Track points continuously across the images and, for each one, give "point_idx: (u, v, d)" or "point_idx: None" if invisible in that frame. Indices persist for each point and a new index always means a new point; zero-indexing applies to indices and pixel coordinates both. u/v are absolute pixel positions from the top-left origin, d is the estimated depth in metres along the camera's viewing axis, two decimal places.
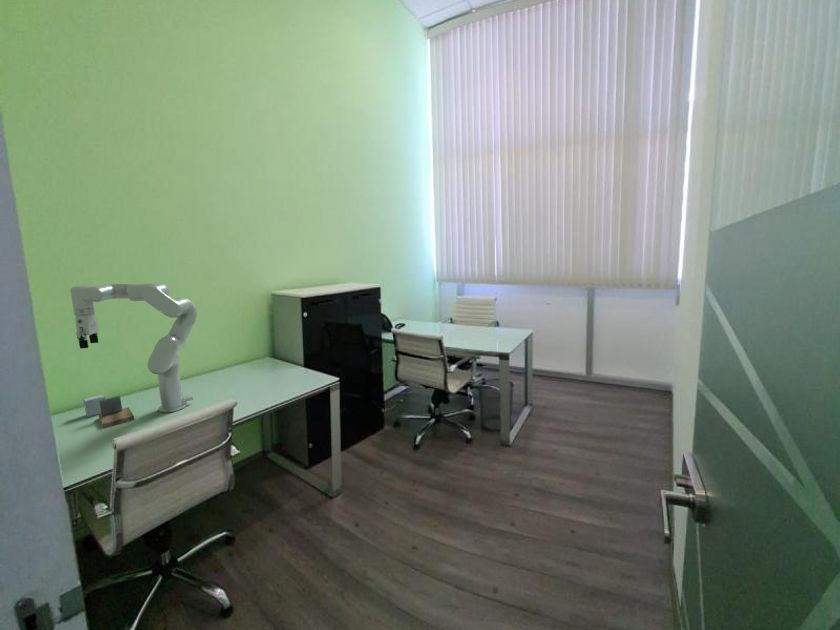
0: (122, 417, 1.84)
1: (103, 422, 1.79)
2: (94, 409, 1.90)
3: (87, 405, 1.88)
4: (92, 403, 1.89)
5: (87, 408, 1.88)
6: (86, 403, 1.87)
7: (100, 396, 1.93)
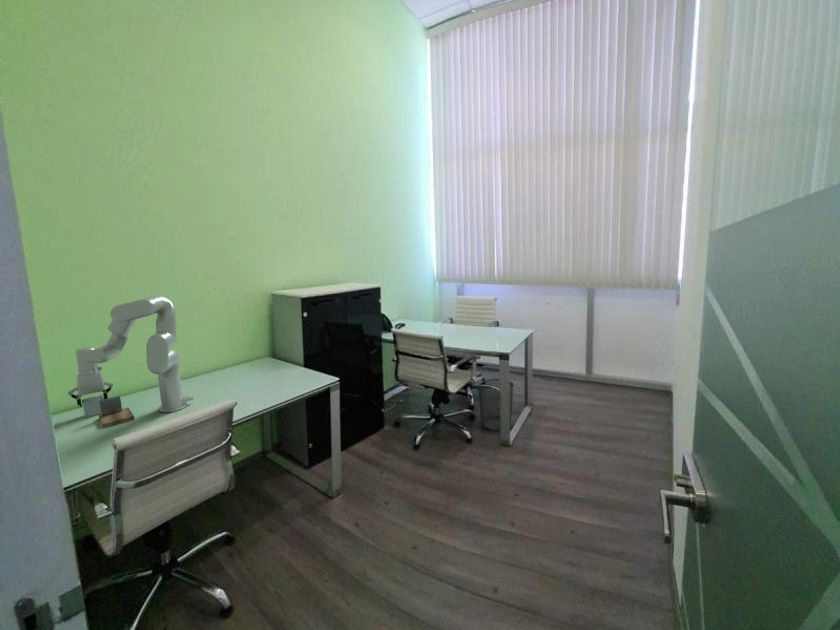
0: (122, 417, 1.84)
1: (103, 422, 1.79)
2: (93, 409, 1.90)
3: (85, 405, 1.87)
4: (90, 404, 1.89)
5: (85, 408, 1.87)
6: (84, 403, 1.87)
7: (98, 396, 1.92)
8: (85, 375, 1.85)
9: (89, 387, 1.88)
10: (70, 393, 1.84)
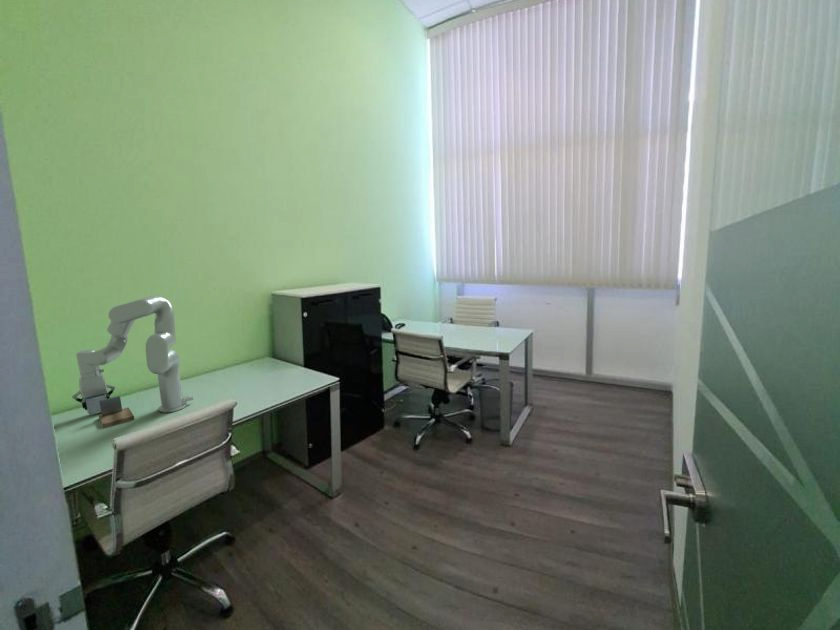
0: (122, 417, 1.84)
1: (103, 422, 1.79)
2: (95, 407, 1.90)
3: (88, 403, 1.87)
4: (93, 401, 1.89)
5: (88, 406, 1.88)
6: (87, 401, 1.87)
7: (101, 394, 1.93)
8: (87, 378, 1.85)
9: (92, 389, 1.88)
10: (74, 397, 1.85)
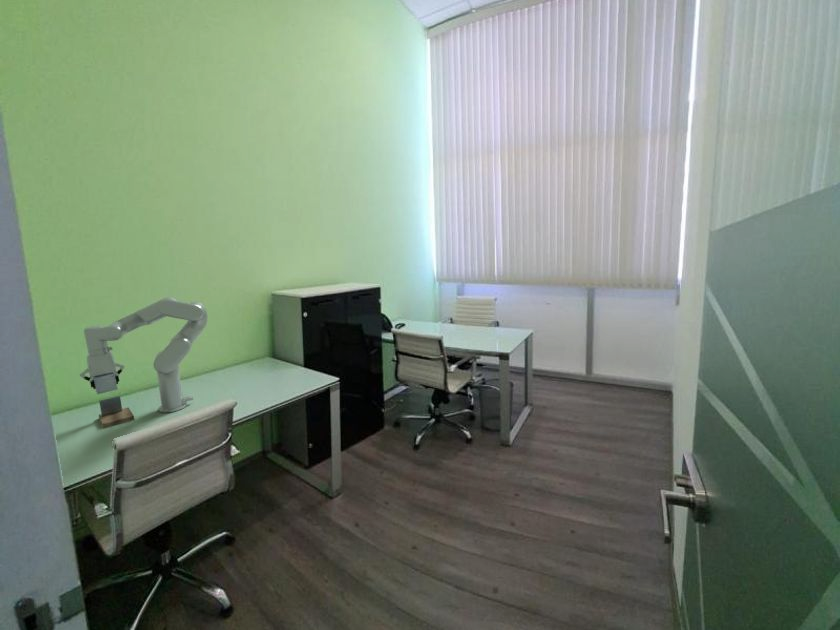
0: (122, 417, 1.84)
1: (103, 422, 1.79)
2: (104, 386, 1.82)
3: (96, 382, 1.79)
4: (101, 380, 1.81)
5: (96, 385, 1.80)
6: (95, 380, 1.79)
7: (110, 373, 1.84)
8: (95, 355, 1.77)
9: (100, 367, 1.80)
10: (82, 375, 1.77)
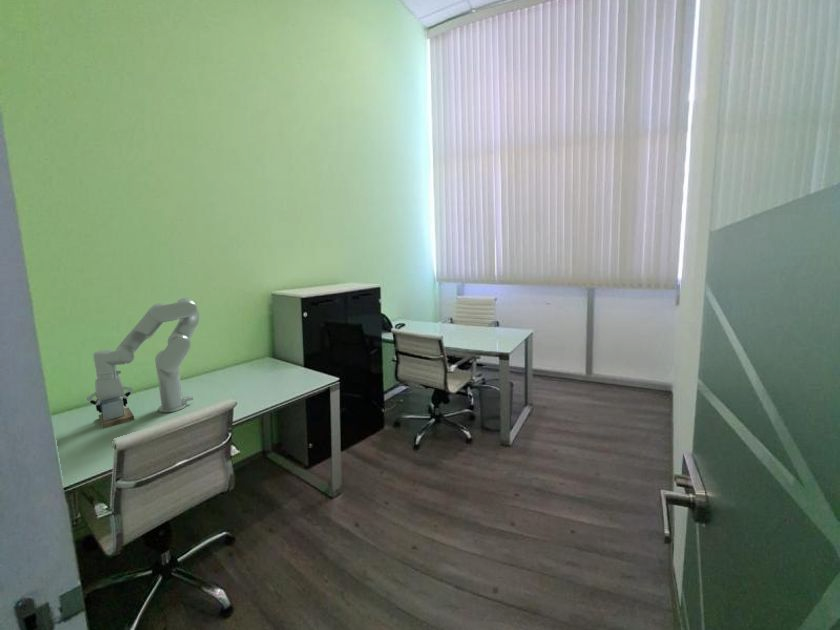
0: (122, 417, 1.84)
1: (103, 422, 1.79)
2: (111, 412, 1.82)
3: (104, 408, 1.79)
4: (109, 406, 1.81)
5: (104, 411, 1.80)
6: (103, 406, 1.79)
7: (118, 399, 1.85)
8: (104, 379, 1.77)
9: (109, 391, 1.80)
10: (89, 399, 1.76)
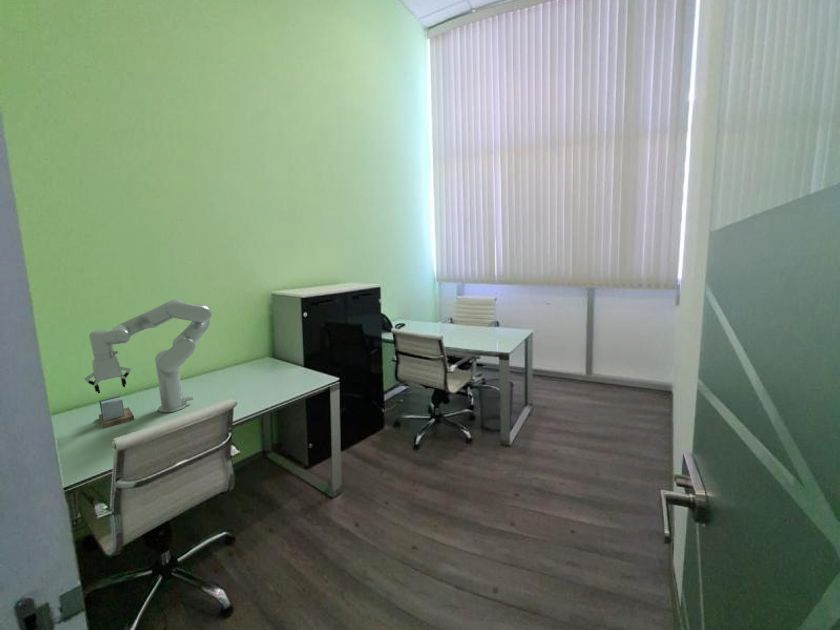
0: (122, 417, 1.84)
1: (103, 422, 1.79)
2: (111, 412, 1.82)
3: (104, 408, 1.79)
4: (109, 406, 1.81)
5: (104, 411, 1.80)
6: (103, 406, 1.79)
7: (118, 399, 1.85)
8: (101, 359, 1.75)
9: (106, 372, 1.78)
10: (87, 379, 1.75)
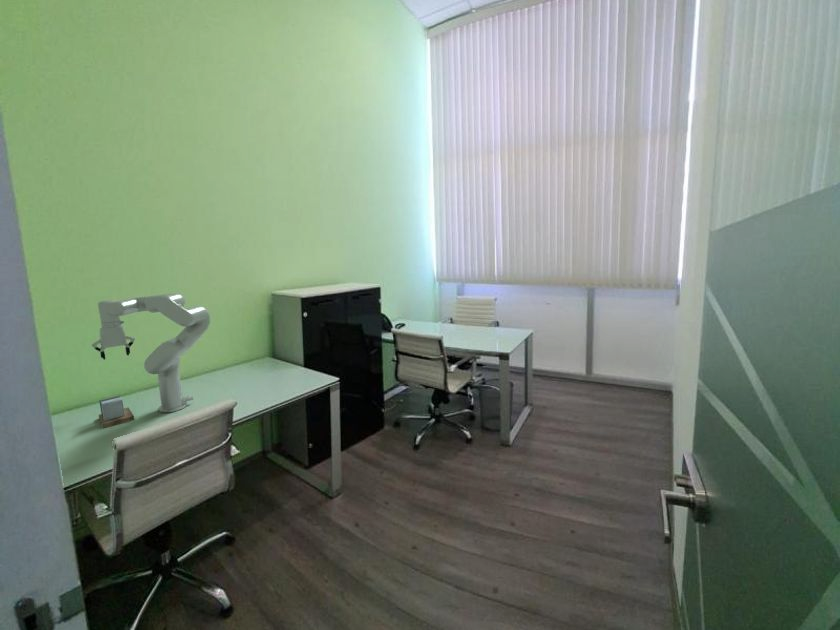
0: (122, 417, 1.84)
1: (103, 422, 1.79)
2: (111, 412, 1.82)
3: (104, 408, 1.79)
4: (109, 406, 1.81)
5: (104, 411, 1.80)
6: (103, 406, 1.79)
7: (118, 399, 1.85)
8: (108, 327, 1.87)
9: (112, 339, 1.90)
10: (94, 345, 1.86)
